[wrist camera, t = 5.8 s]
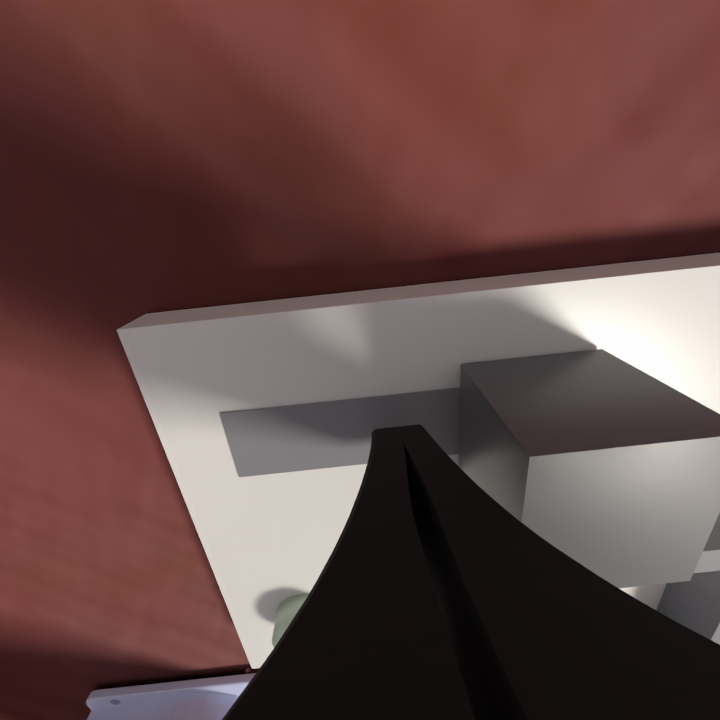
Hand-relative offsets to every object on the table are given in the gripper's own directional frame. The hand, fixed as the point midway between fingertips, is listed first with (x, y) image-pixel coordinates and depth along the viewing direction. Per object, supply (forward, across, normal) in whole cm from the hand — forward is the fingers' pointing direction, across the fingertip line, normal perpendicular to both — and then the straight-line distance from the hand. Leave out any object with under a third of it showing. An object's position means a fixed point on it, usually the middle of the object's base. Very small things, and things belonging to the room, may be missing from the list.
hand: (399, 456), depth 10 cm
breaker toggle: (+1, -4, 0) cm, 4 cm away
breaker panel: (+3, -3, +4) cm, 6 cm away
